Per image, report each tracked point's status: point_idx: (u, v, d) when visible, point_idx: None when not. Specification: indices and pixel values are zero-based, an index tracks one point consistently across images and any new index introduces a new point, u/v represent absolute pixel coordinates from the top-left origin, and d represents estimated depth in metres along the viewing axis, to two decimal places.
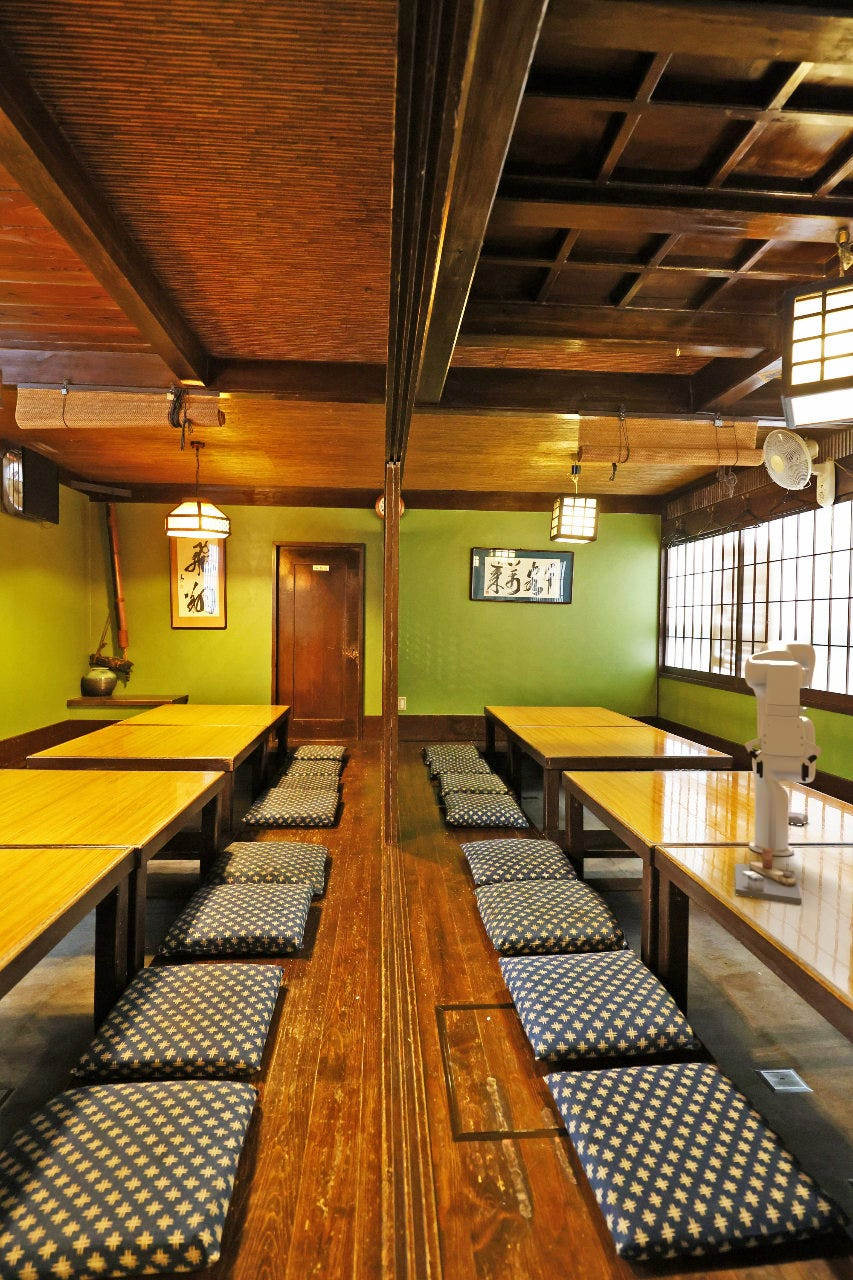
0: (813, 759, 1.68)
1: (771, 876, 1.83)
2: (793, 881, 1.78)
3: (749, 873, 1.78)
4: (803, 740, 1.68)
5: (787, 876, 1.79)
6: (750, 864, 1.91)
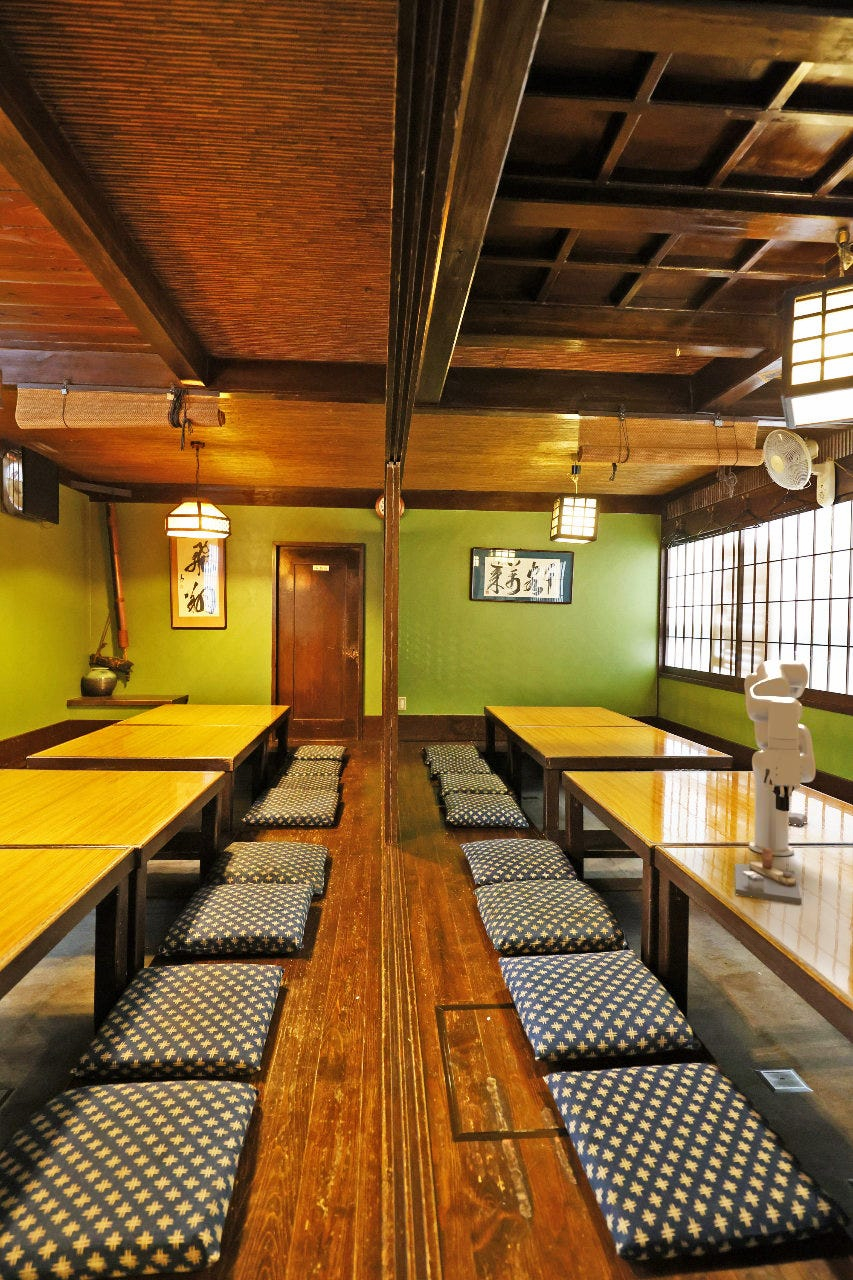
0: (792, 790, 1.88)
1: (771, 876, 1.83)
2: (793, 881, 1.78)
3: (749, 873, 1.78)
4: (801, 769, 1.87)
5: (787, 876, 1.79)
6: (750, 864, 1.91)
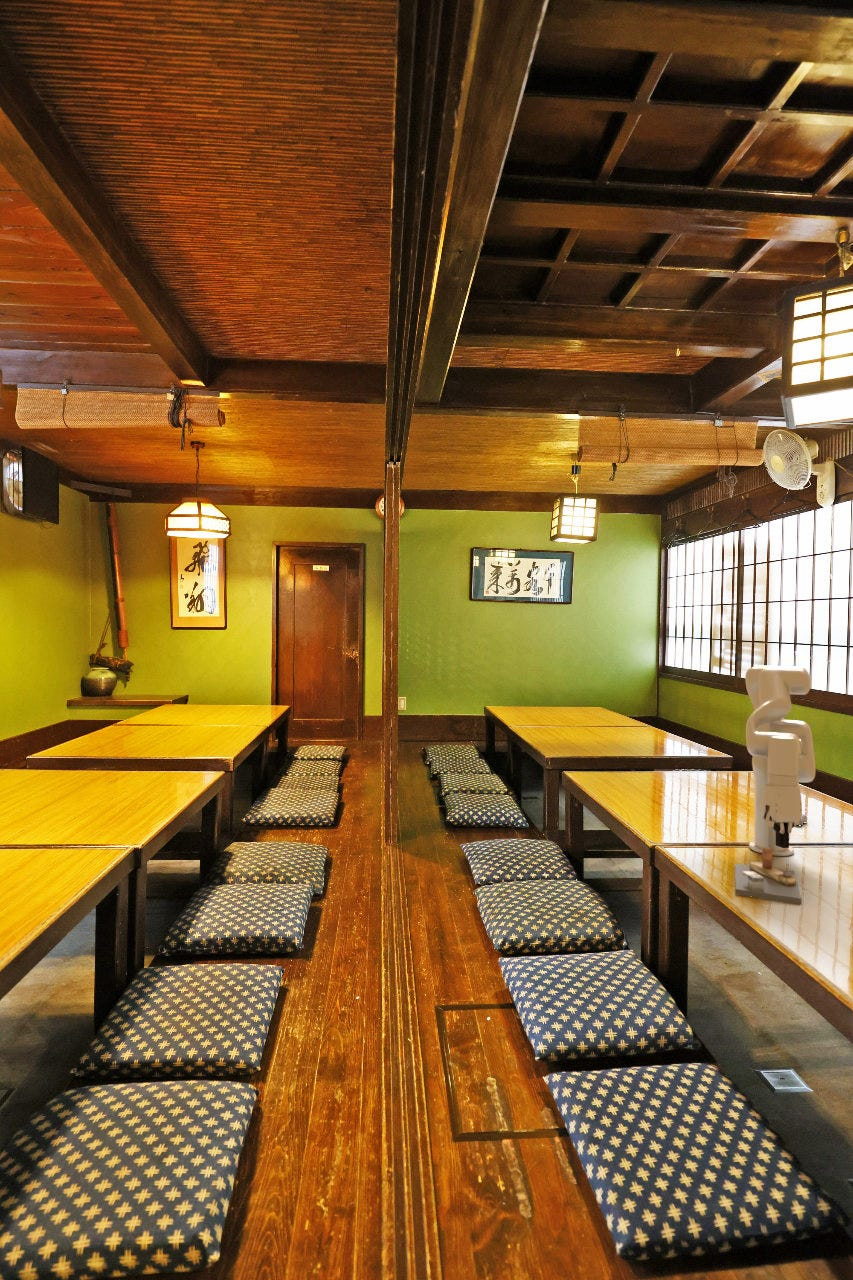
0: (792, 826, 1.87)
1: (771, 876, 1.83)
2: (793, 881, 1.78)
3: (749, 873, 1.78)
4: (801, 805, 1.87)
5: (787, 876, 1.79)
6: (750, 864, 1.91)
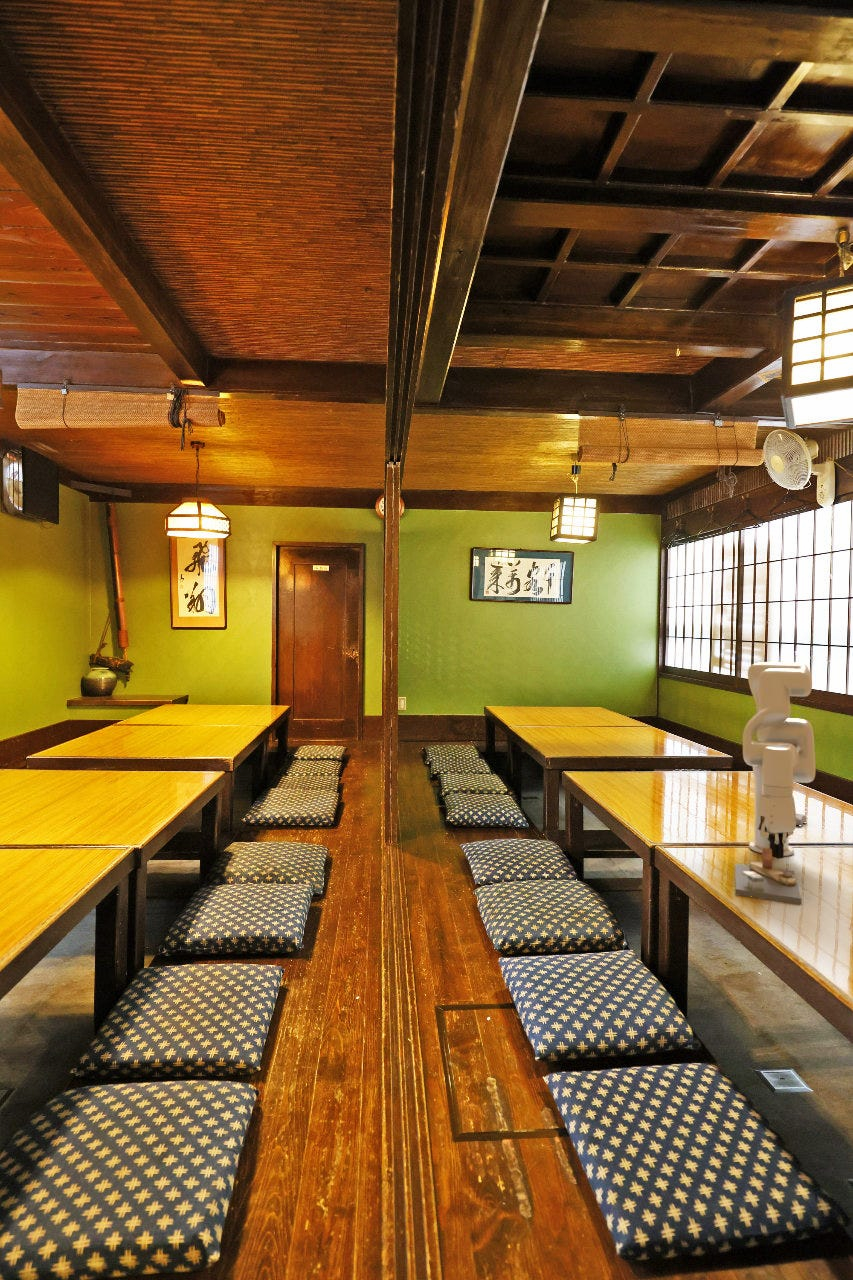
0: (786, 837, 1.88)
1: (771, 876, 1.83)
2: (793, 881, 1.78)
3: (749, 873, 1.78)
4: (795, 816, 1.87)
5: (787, 876, 1.79)
6: (750, 864, 1.91)
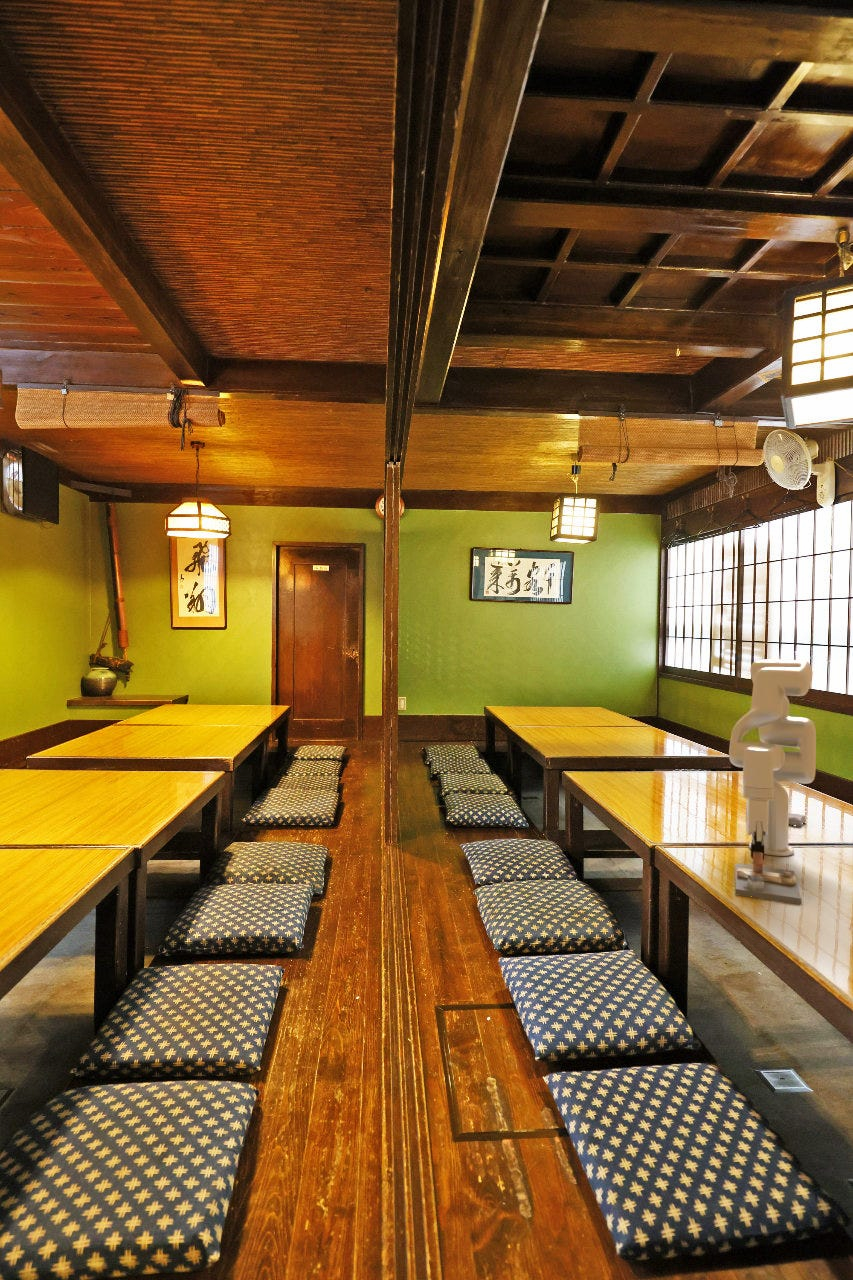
0: None
1: (771, 880, 1.81)
2: None
3: (749, 873, 1.78)
4: None
5: (790, 876, 1.79)
6: (738, 872, 1.84)
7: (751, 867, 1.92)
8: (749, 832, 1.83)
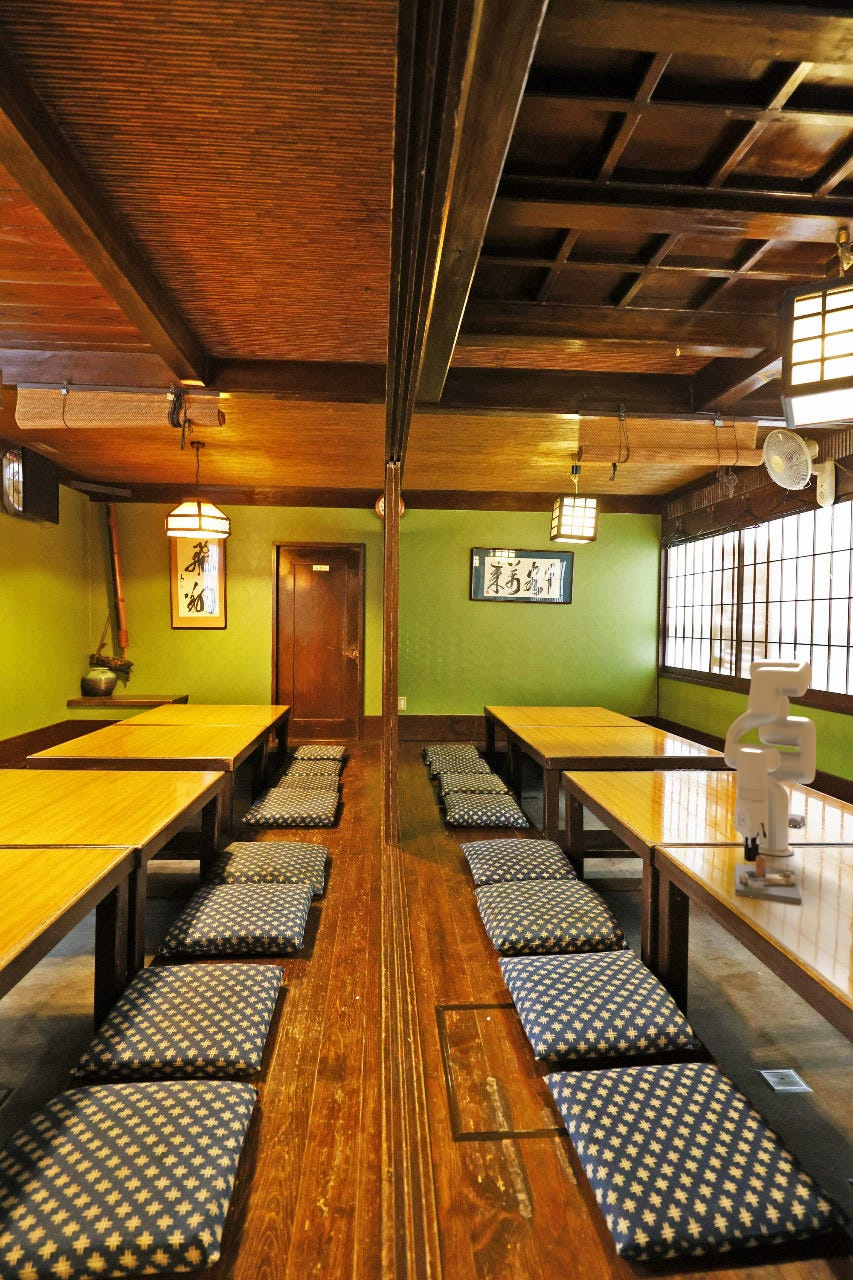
0: None
1: (775, 882, 1.79)
2: None
3: (749, 873, 1.78)
4: None
5: (790, 876, 1.80)
6: (746, 879, 1.79)
7: (751, 867, 1.92)
8: (752, 835, 1.80)
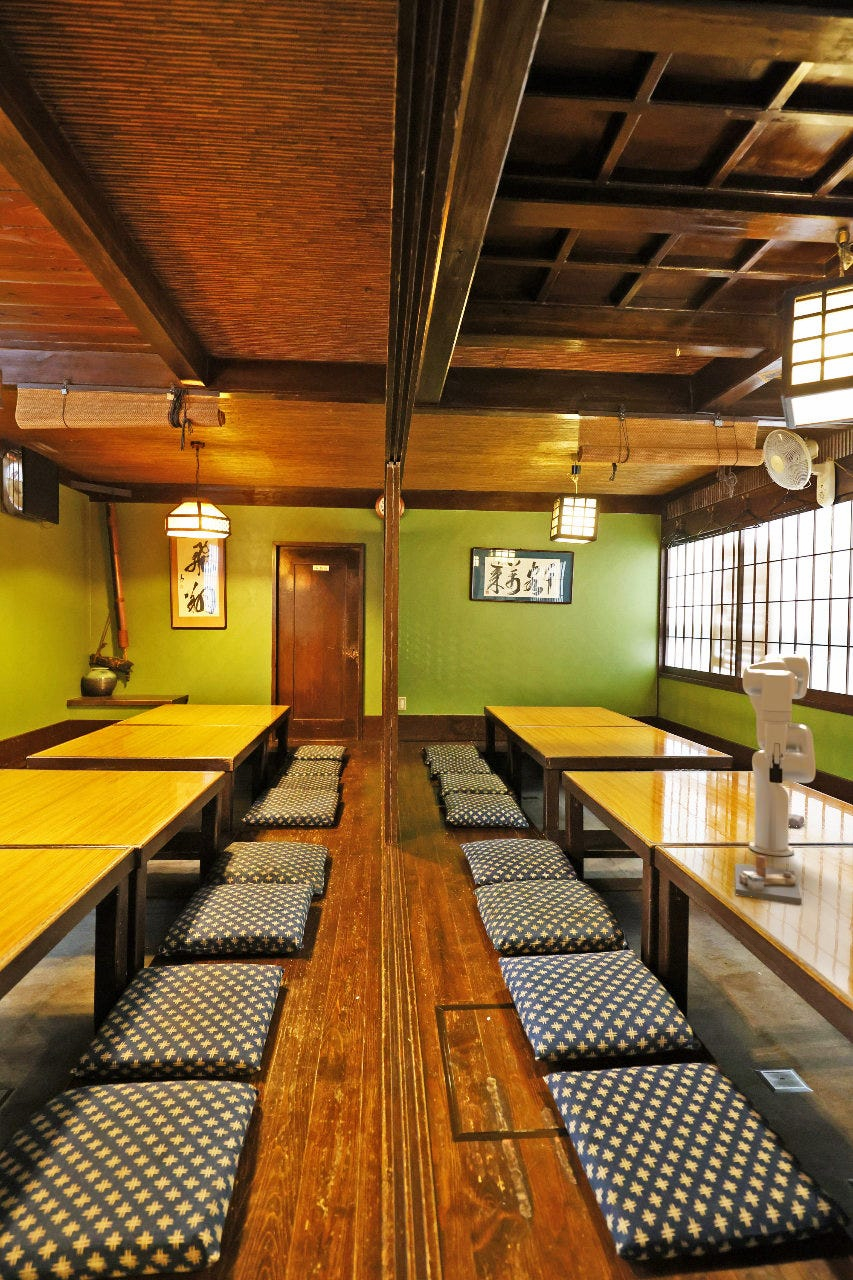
0: None
1: (775, 882, 1.79)
2: None
3: (749, 873, 1.78)
4: None
5: (790, 876, 1.80)
6: (746, 879, 1.79)
7: (751, 867, 1.92)
8: (767, 755, 1.86)
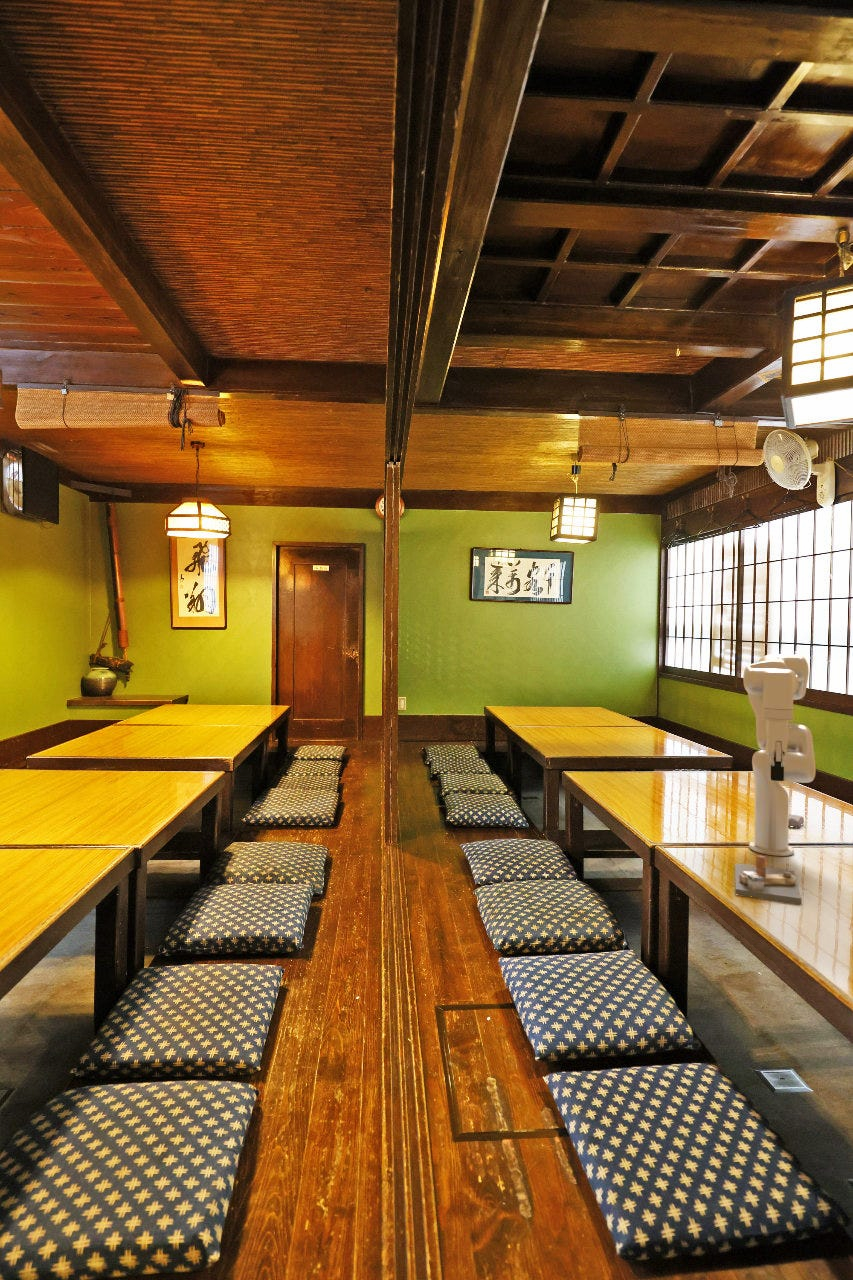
0: None
1: (775, 882, 1.79)
2: None
3: (749, 873, 1.78)
4: None
5: (790, 876, 1.80)
6: (746, 879, 1.79)
7: (751, 867, 1.92)
8: (768, 752, 1.86)
